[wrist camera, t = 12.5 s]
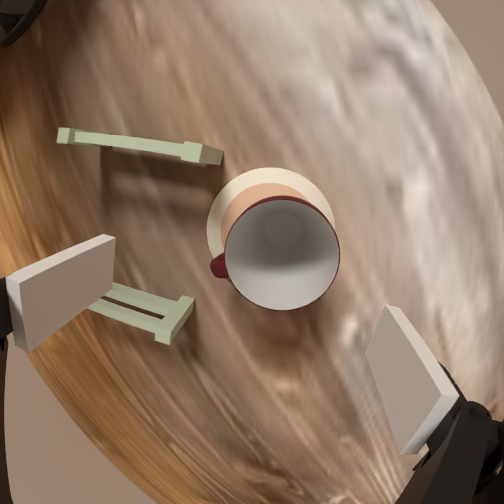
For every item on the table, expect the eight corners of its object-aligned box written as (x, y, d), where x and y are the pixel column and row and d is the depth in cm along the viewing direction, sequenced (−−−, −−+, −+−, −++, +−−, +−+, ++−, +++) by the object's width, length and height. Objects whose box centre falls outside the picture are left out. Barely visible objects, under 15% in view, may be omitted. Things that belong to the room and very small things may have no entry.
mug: (248, 293, 33) (232, 341, 23) (207, 227, 31) (173, 252, 22) (337, 246, 30) (359, 279, 21) (299, 174, 29) (305, 175, 19)
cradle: (86, 275, 36) (48, 298, 28) (102, 133, 31) (59, 127, 23) (192, 310, 35) (169, 345, 27) (223, 151, 30) (202, 144, 23)
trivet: (198, 274, 34) (196, 277, 33) (222, 155, 30) (220, 155, 29) (314, 303, 33) (314, 306, 32) (347, 186, 30) (349, 186, 29)
